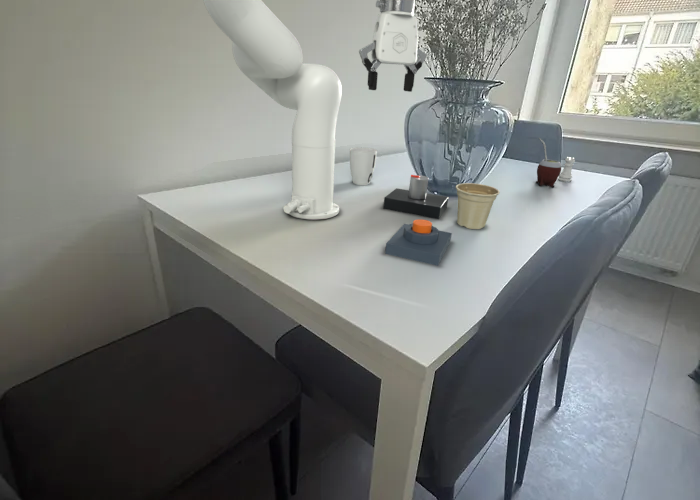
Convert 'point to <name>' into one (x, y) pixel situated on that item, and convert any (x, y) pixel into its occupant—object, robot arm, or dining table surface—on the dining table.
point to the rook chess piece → (567, 170)
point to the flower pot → (474, 204)
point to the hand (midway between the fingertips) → (390, 90)
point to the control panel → (416, 204)
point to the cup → (362, 164)
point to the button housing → (419, 244)
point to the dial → (418, 187)
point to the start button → (422, 226)
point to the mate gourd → (548, 170)
